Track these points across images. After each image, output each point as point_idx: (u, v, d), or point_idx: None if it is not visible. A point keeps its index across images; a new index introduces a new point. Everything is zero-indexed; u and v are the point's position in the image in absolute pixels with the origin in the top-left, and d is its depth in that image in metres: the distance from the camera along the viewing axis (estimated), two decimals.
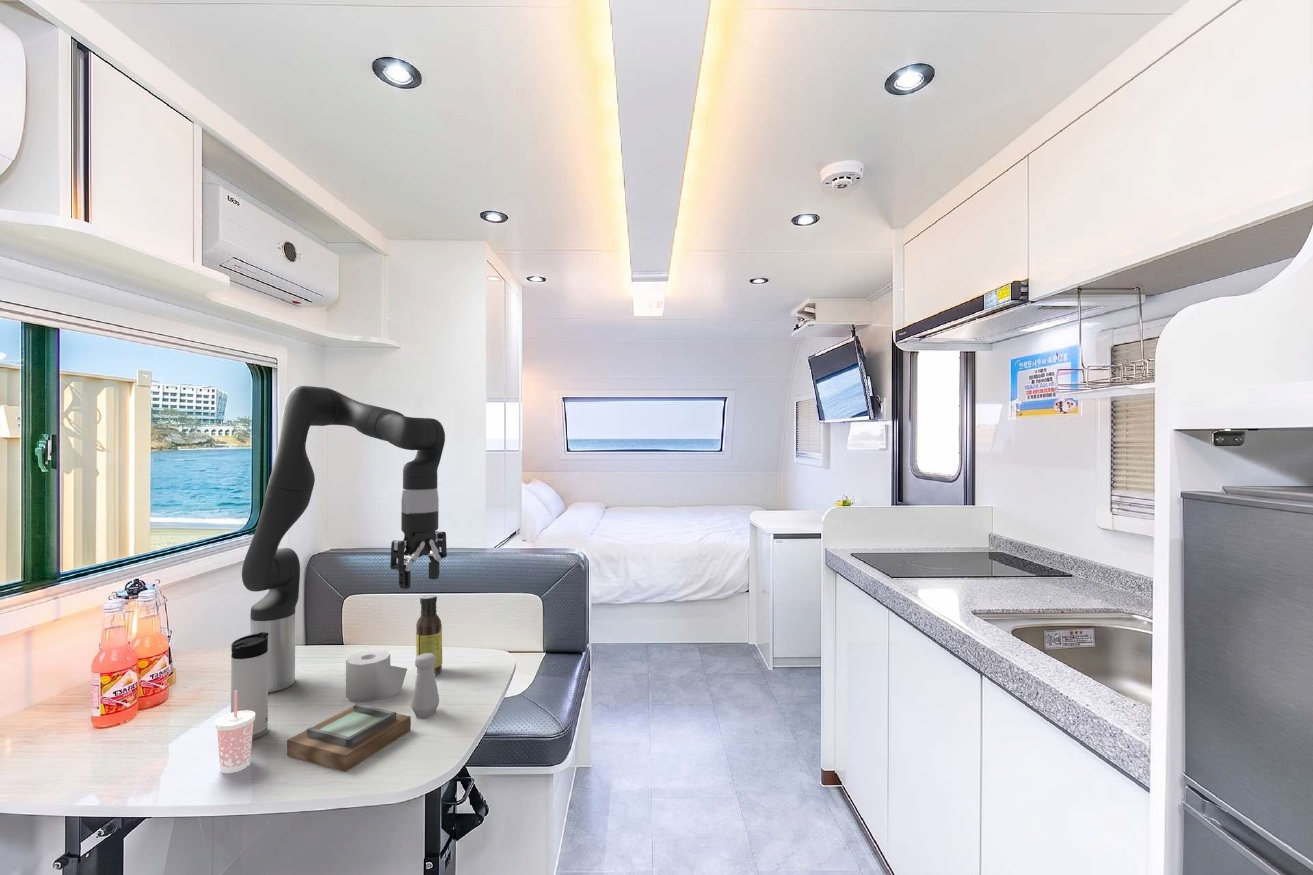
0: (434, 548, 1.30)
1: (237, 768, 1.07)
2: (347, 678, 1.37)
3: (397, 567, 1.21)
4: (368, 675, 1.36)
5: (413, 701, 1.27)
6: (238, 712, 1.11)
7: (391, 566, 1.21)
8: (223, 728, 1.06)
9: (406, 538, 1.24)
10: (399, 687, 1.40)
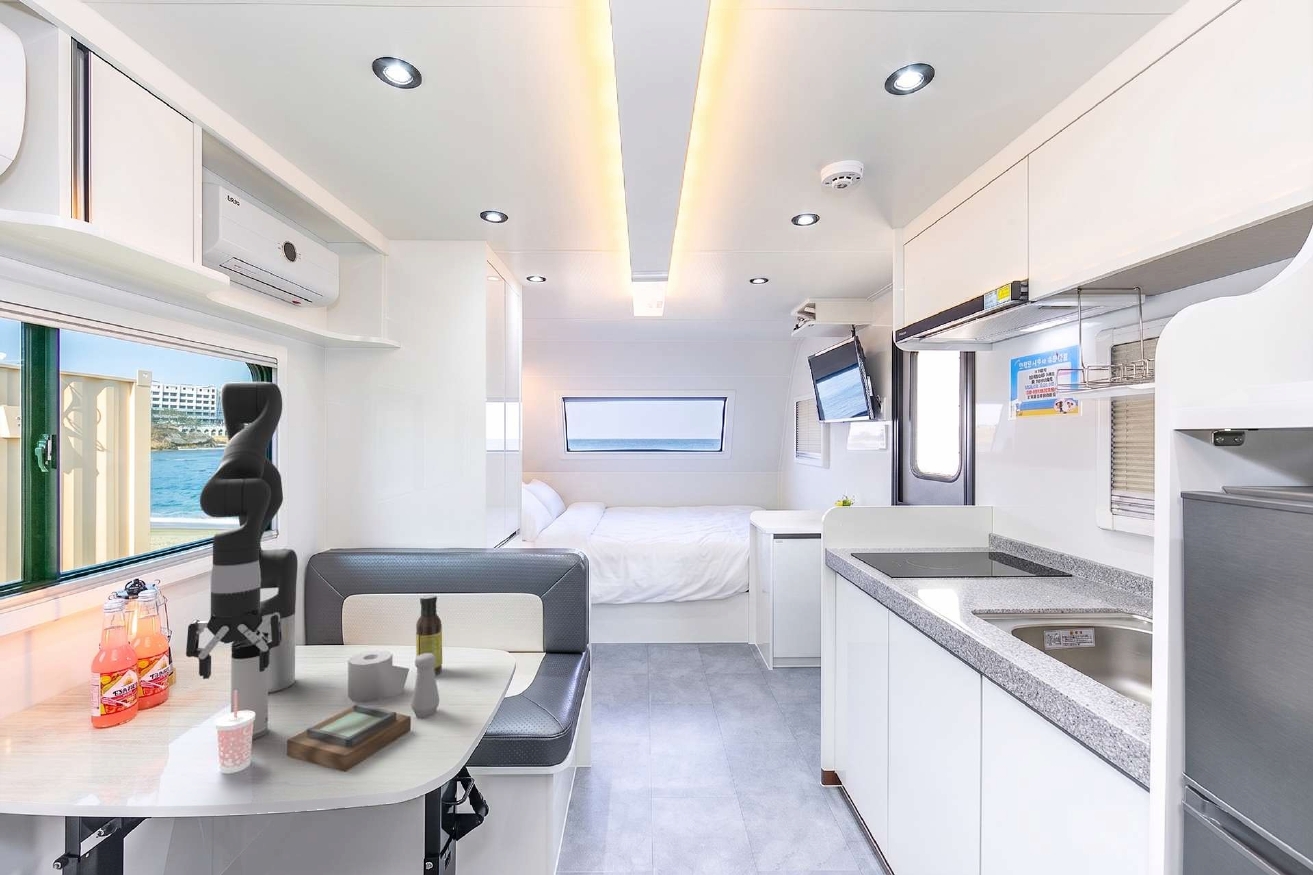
0: None
1: (237, 768, 1.07)
2: (349, 678, 1.37)
3: (280, 640, 1.12)
4: (370, 675, 1.36)
5: (413, 701, 1.27)
6: (238, 712, 1.11)
7: (279, 642, 1.11)
8: (223, 728, 1.06)
9: None
10: (401, 687, 1.40)
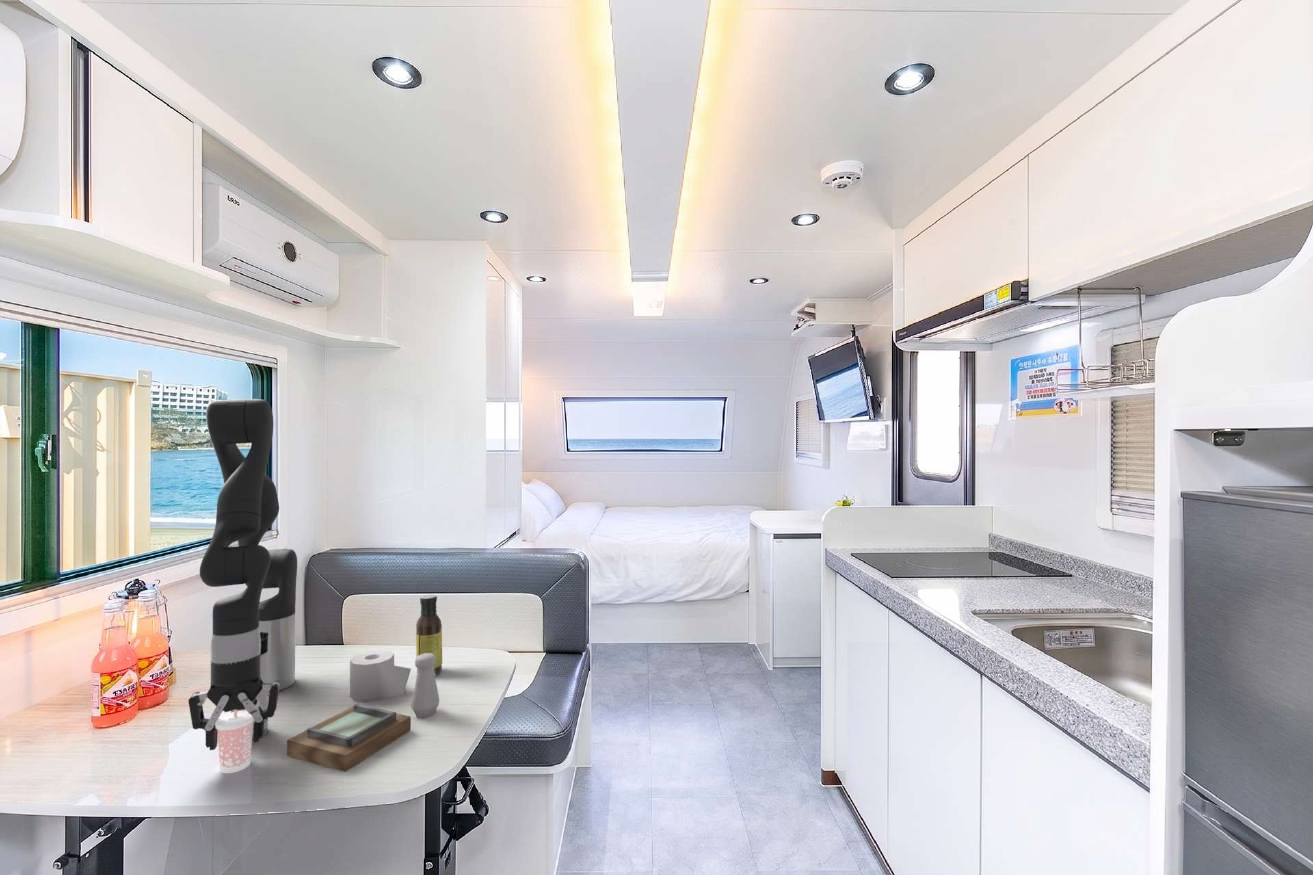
0: None
1: (237, 768, 1.07)
2: (351, 678, 1.37)
3: None
4: (372, 675, 1.36)
5: (413, 701, 1.27)
6: (238, 712, 1.11)
7: None
8: (223, 728, 1.06)
9: None
10: (403, 687, 1.40)
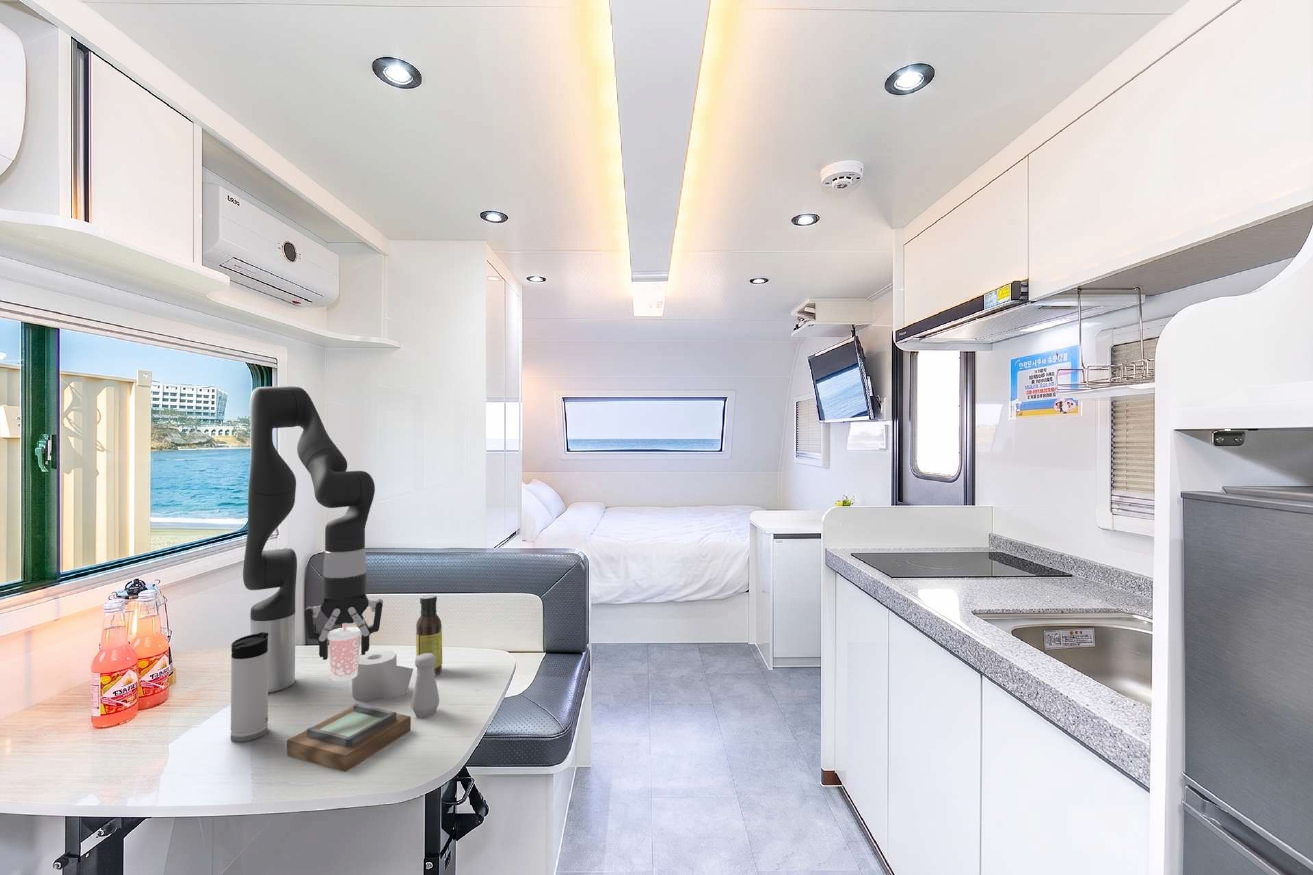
0: None
1: (347, 677, 1.15)
2: (353, 678, 1.37)
3: None
4: (374, 675, 1.36)
5: (413, 701, 1.27)
6: None
7: None
8: (335, 639, 1.13)
9: None
10: (405, 687, 1.40)
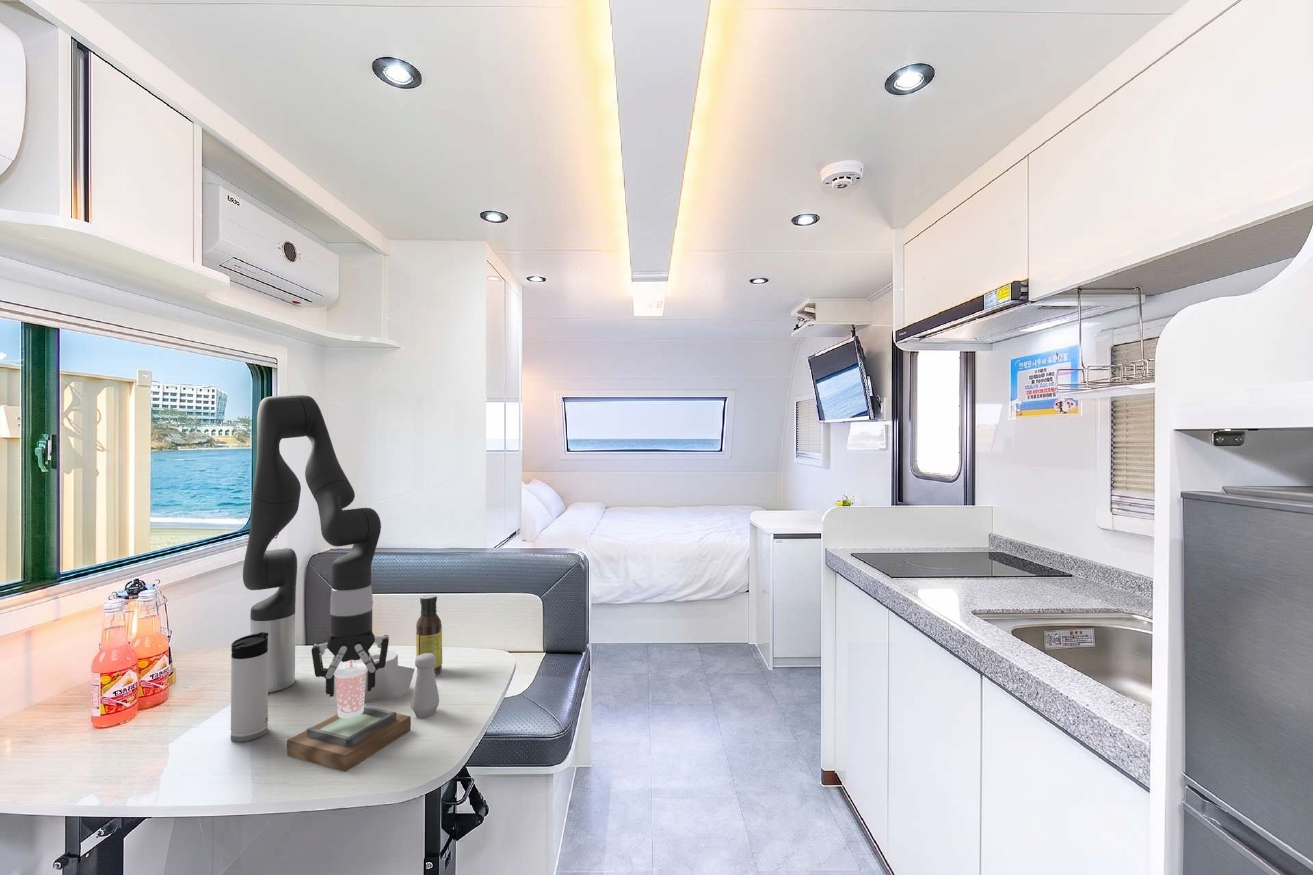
0: None
1: (354, 714, 1.16)
2: None
3: None
4: (375, 675, 1.36)
5: (413, 701, 1.27)
6: (351, 664, 1.20)
7: None
8: (342, 676, 1.14)
9: None
10: (406, 687, 1.40)
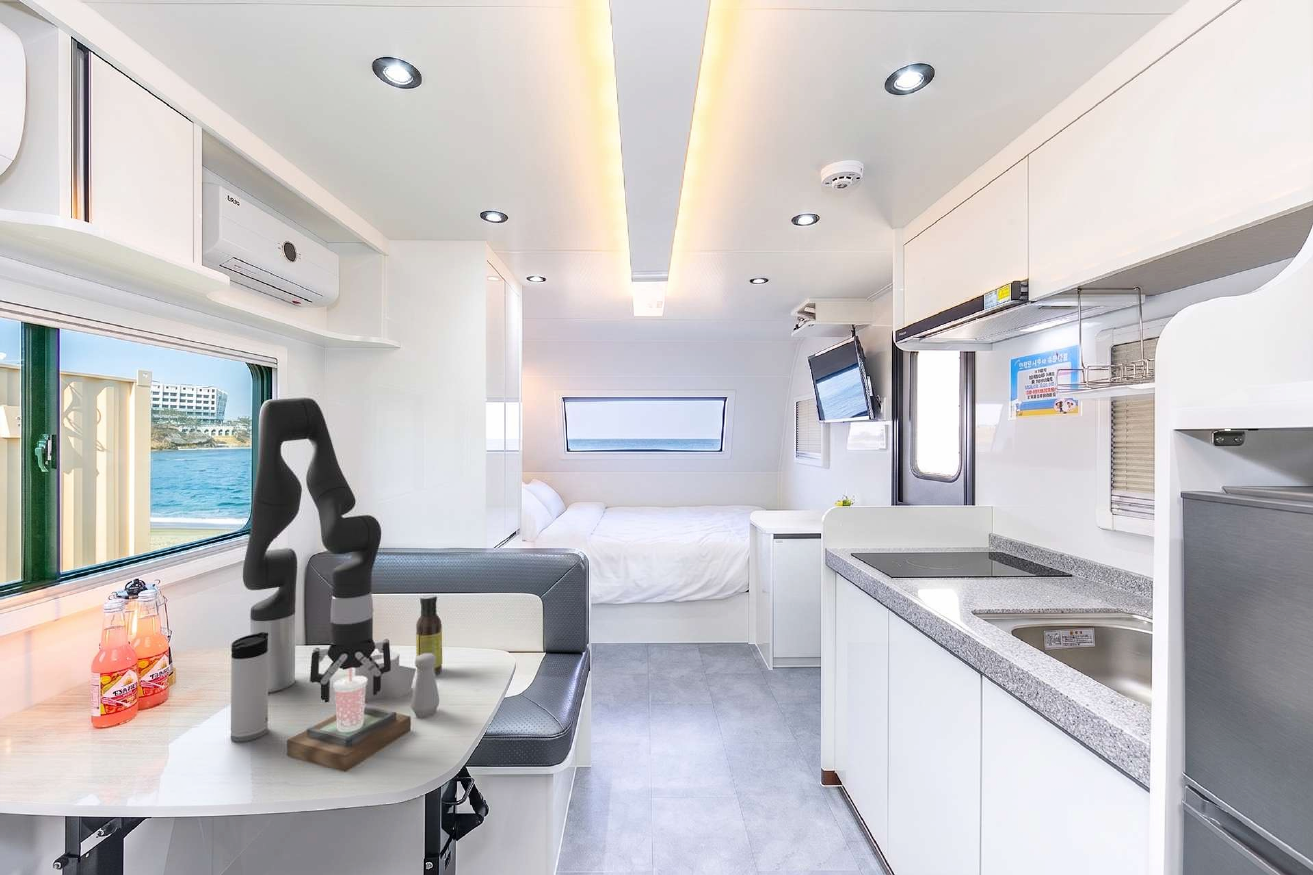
0: None
1: (354, 728, 1.16)
2: None
3: None
4: None
5: (413, 701, 1.27)
6: None
7: (390, 667, 1.19)
8: (342, 690, 1.14)
9: None
10: (408, 687, 1.40)
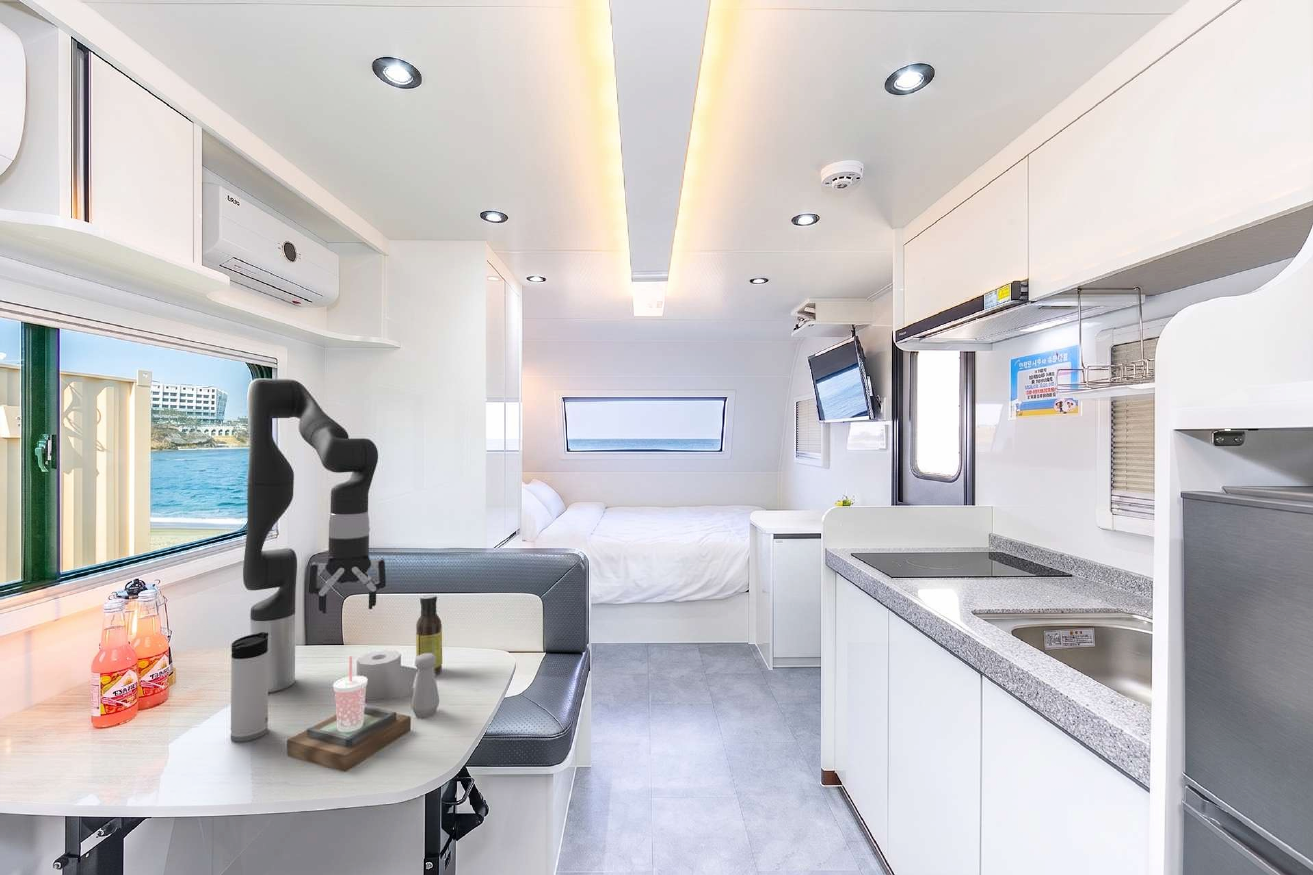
0: None
1: (354, 728, 1.16)
2: None
3: None
4: (379, 675, 1.36)
5: (413, 701, 1.27)
6: None
7: None
8: (342, 690, 1.14)
9: None
10: (409, 687, 1.40)
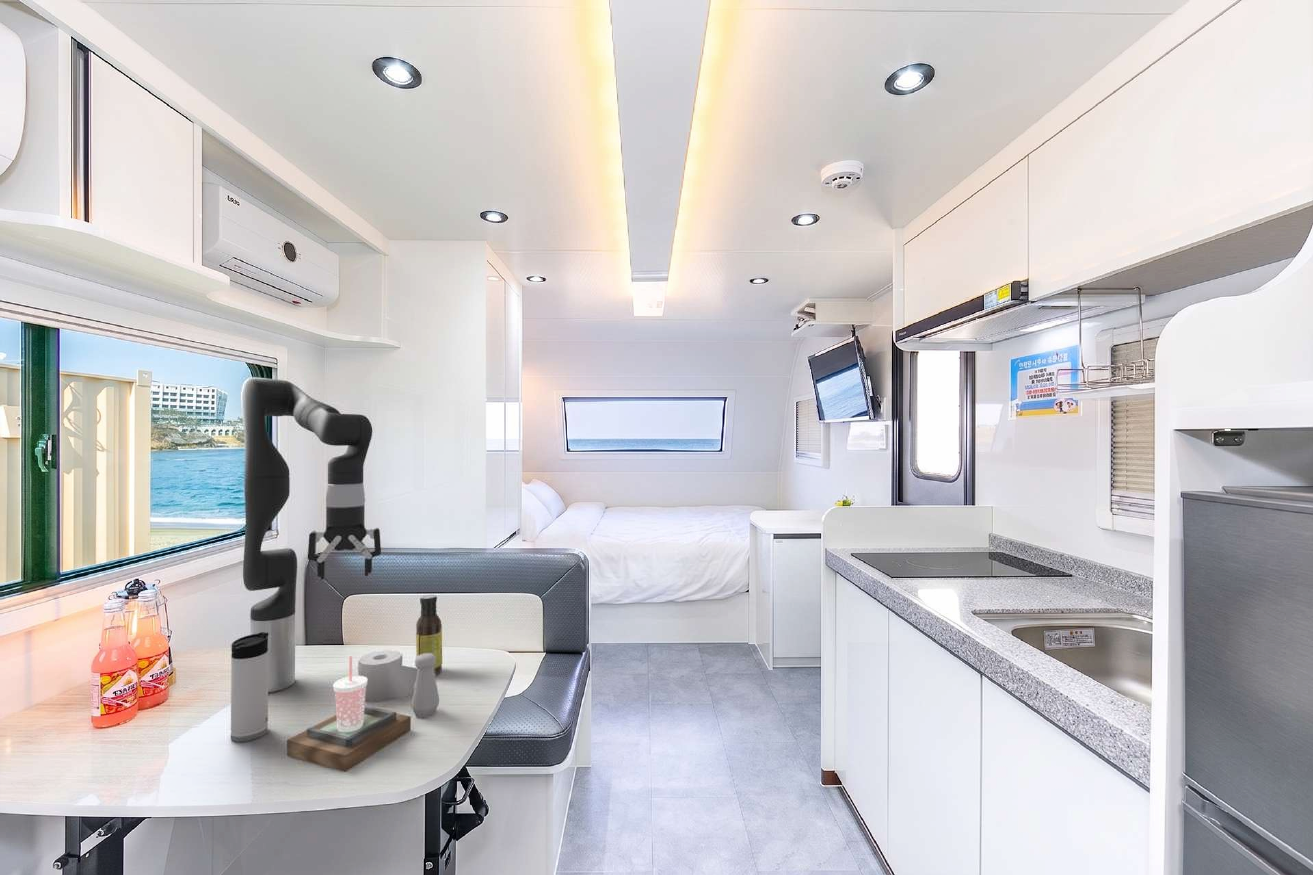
0: None
1: (354, 728, 1.16)
2: None
3: None
4: (380, 675, 1.36)
5: (413, 701, 1.27)
6: None
7: None
8: (342, 690, 1.14)
9: None
10: (411, 688, 1.40)
